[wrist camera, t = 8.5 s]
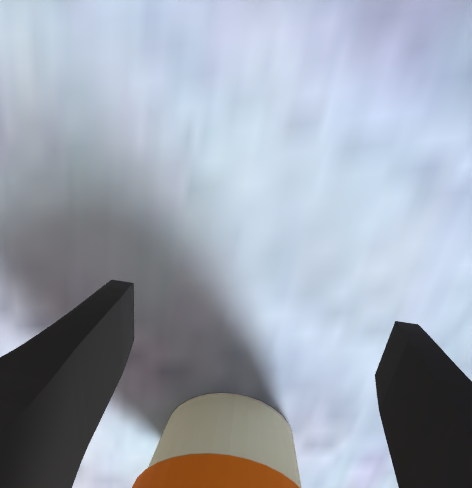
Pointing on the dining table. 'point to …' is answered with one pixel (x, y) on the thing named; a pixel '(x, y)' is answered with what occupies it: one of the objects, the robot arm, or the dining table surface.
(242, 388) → the dining table surface
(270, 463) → the reusable coffee cup
